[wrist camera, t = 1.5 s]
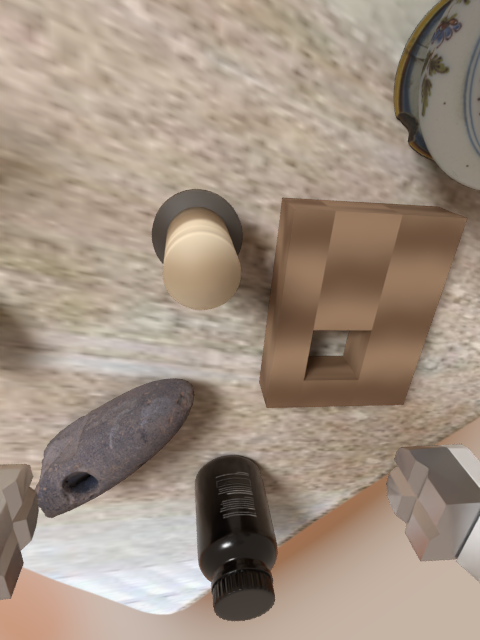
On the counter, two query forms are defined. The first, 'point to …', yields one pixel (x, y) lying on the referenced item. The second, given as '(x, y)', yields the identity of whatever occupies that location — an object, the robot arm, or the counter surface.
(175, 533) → the counter surface
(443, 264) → the walnut board
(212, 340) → the counter surface
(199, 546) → the supplement bottle
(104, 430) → the perforated stone tool
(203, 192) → the maple peg
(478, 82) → the apothecary jar
